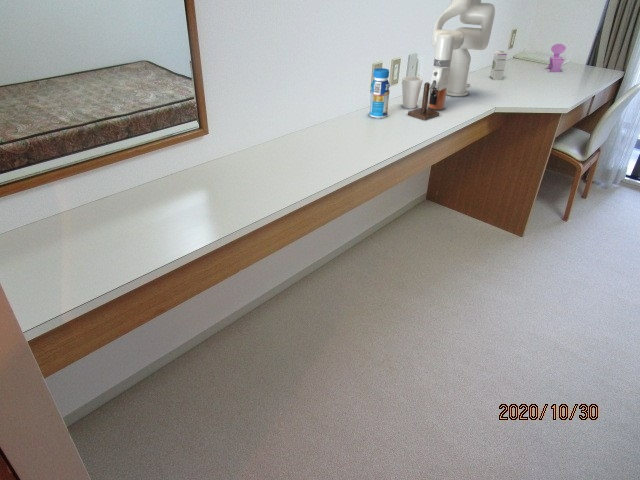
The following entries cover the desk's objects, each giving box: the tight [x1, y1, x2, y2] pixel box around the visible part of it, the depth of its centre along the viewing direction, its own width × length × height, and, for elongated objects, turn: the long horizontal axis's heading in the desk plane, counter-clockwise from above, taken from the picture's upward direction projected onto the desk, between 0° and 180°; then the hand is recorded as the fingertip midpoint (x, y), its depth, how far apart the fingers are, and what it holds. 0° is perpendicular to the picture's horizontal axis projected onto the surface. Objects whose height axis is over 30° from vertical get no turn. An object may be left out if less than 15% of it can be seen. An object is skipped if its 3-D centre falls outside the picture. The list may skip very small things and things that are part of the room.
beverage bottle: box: [369, 67, 391, 119], centre depth 200 cm, size 8×8×20 cm
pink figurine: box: [546, 43, 567, 73], centre depth 276 cm, size 8×9×15 cm
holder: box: [407, 82, 440, 121], centre depth 201 cm, size 10×10×15 cm
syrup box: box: [489, 50, 508, 80], centre depth 260 cm, size 6×6×14 cm
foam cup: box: [401, 75, 423, 109], centre depth 213 cm, size 10×9×13 cm
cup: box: [427, 88, 447, 110], centre depth 211 cm, size 7×7×9 cm
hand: (436, 102), depth 213 cm, fingers closed on cup, 7 cm apart
